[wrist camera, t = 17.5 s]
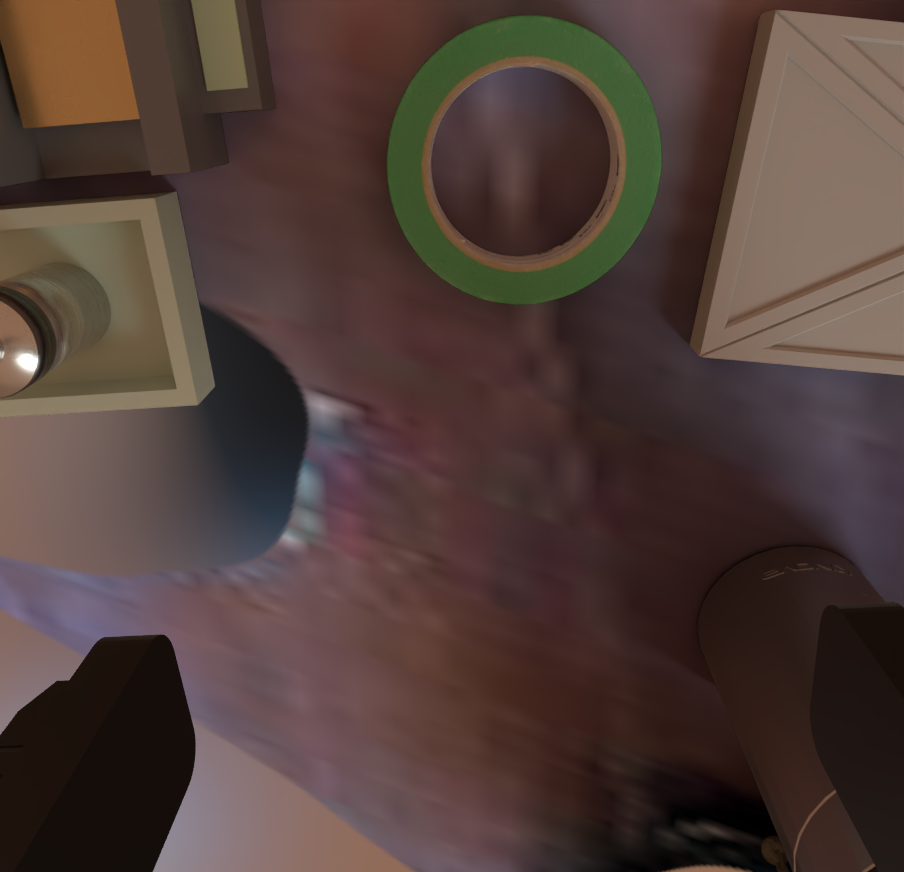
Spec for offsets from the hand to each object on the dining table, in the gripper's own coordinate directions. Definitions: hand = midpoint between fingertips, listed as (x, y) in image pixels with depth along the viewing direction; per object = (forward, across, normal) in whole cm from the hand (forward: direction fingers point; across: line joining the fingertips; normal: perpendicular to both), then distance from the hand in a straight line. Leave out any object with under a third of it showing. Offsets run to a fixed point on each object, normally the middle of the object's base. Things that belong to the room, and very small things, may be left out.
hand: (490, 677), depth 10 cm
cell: (+28, +19, +1) cm, 33 cm away
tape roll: (+29, -2, -4) cm, 29 cm away
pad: (+26, +15, -10) cm, 32 cm away
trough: (+28, +20, 0) cm, 34 cm away
